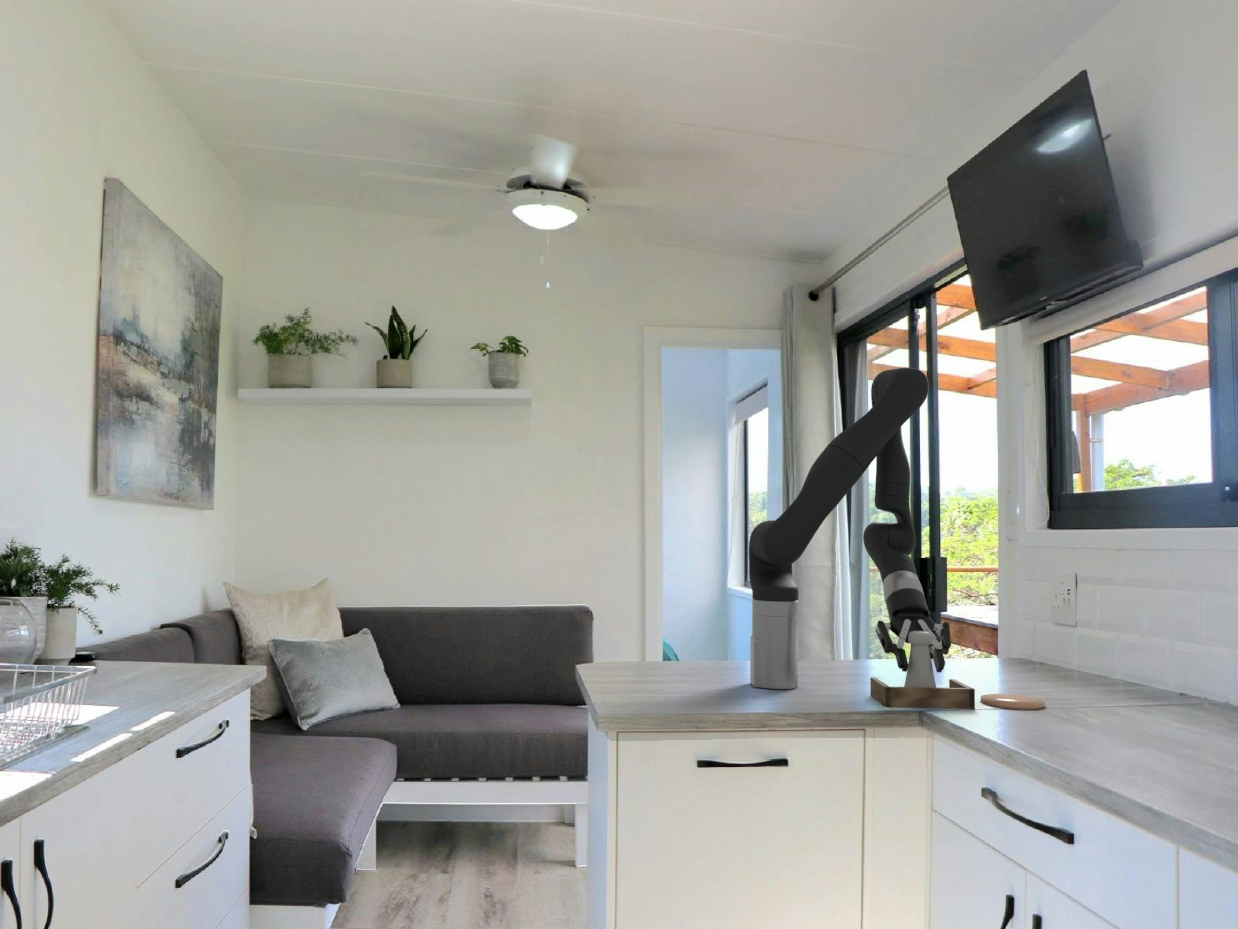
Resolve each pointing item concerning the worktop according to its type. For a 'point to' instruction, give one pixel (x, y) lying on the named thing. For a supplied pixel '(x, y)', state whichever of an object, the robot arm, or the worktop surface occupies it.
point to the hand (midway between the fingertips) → (922, 669)
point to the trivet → (1012, 701)
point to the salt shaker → (920, 661)
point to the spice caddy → (924, 695)
